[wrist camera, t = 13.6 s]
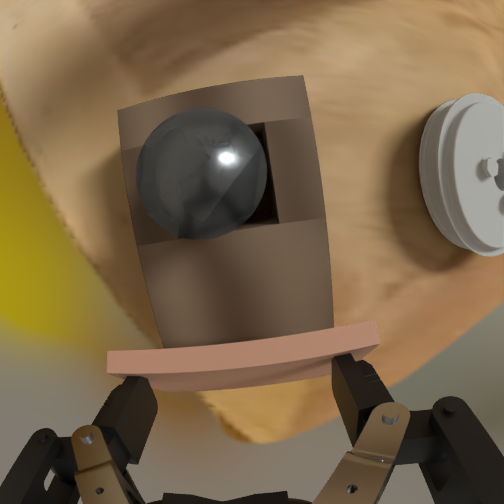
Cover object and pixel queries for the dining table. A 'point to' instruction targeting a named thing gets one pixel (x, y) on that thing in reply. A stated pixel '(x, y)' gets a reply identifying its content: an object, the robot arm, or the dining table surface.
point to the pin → (201, 173)
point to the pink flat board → (245, 360)
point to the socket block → (240, 227)
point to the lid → (466, 172)
